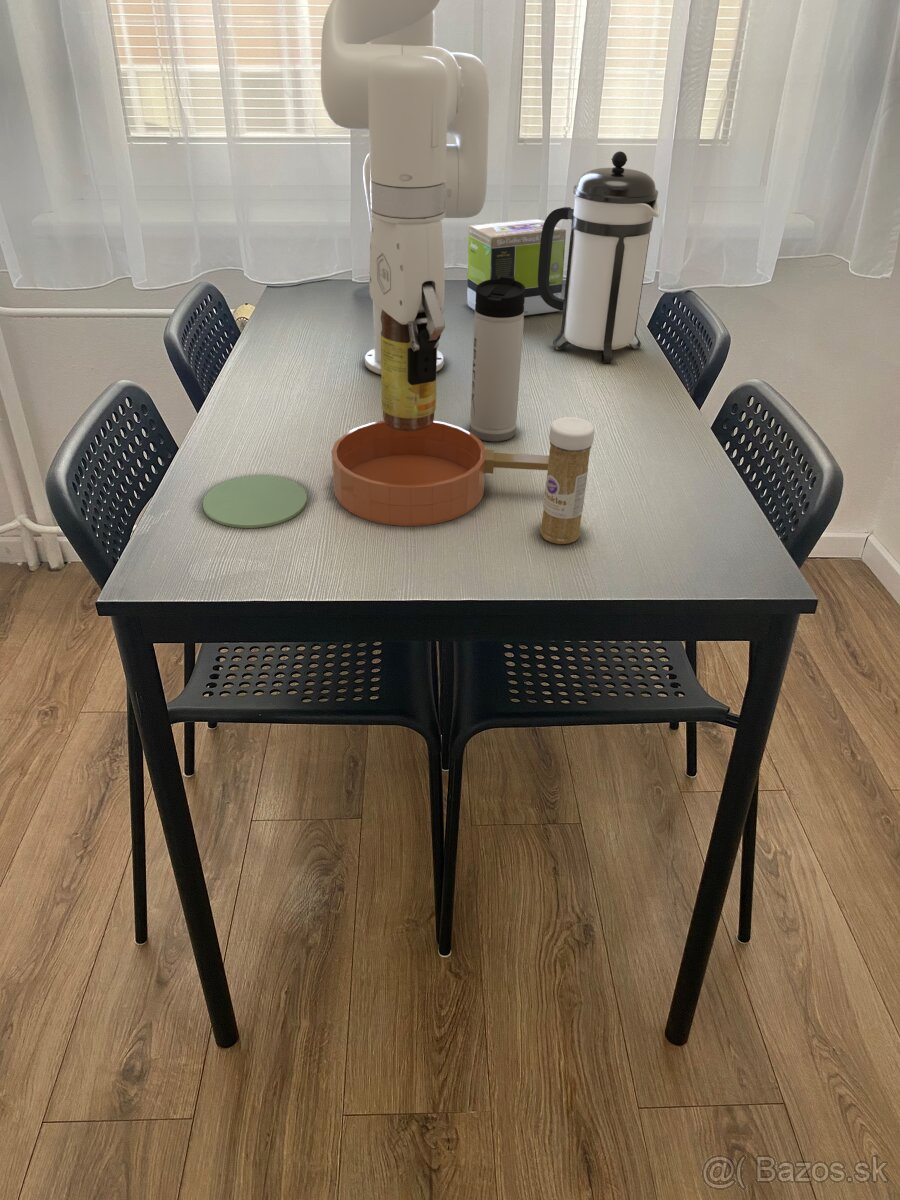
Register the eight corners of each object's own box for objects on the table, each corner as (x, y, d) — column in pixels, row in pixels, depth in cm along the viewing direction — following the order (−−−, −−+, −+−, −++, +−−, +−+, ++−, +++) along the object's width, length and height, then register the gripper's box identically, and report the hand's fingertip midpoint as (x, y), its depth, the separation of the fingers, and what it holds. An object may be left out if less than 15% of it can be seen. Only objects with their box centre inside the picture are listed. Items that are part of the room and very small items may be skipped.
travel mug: (521, 426, 122) (532, 278, 111) (508, 445, 117) (518, 293, 106) (478, 419, 124) (485, 273, 112) (463, 437, 119) (469, 287, 107)
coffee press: (630, 332, 156) (657, 143, 138) (649, 365, 143) (681, 161, 125) (532, 330, 155) (547, 141, 138) (543, 363, 142) (561, 158, 125)
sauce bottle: (428, 437, 100) (431, 256, 88) (375, 430, 101) (371, 251, 89) (440, 412, 105) (444, 239, 93) (390, 406, 106) (387, 234, 94)
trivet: (192, 489, 105) (192, 486, 105) (289, 471, 110) (288, 468, 110) (217, 537, 97) (216, 534, 97) (321, 515, 101) (320, 512, 101)
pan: (313, 469, 110) (310, 433, 107) (444, 444, 117) (444, 409, 114) (367, 539, 97) (366, 499, 94) (510, 506, 104) (513, 468, 101)
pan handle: (483, 473, 104) (483, 459, 103) (483, 462, 106) (484, 449, 105) (579, 478, 103) (581, 464, 102) (578, 467, 106) (580, 453, 104)
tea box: (535, 297, 171) (541, 216, 162) (561, 313, 164) (569, 229, 155) (465, 305, 166) (467, 222, 157) (488, 322, 158) (492, 235, 150)
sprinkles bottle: (531, 535, 99) (542, 424, 91) (554, 520, 101) (566, 411, 94) (565, 550, 96) (579, 437, 88) (588, 534, 99) (603, 423, 91)
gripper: (342, 184, 93) (350, 349, 104) (408, 224, 81) (409, 406, 92) (407, 179, 96) (408, 340, 107) (481, 217, 83) (473, 394, 94)
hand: (408, 369), depth 99 cm, fingers closed on sauce bottle, 6 cm apart
